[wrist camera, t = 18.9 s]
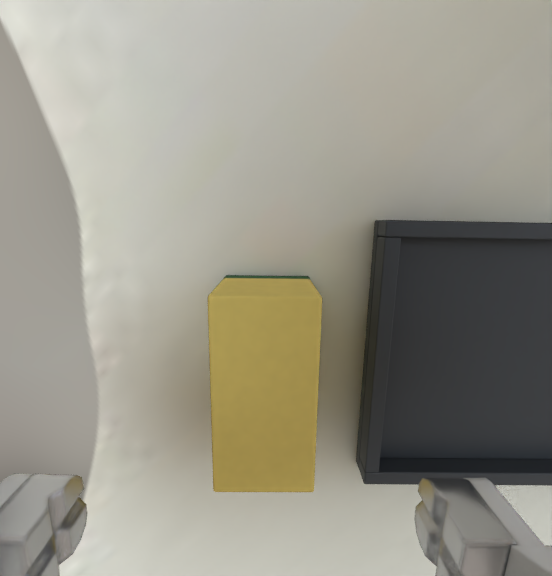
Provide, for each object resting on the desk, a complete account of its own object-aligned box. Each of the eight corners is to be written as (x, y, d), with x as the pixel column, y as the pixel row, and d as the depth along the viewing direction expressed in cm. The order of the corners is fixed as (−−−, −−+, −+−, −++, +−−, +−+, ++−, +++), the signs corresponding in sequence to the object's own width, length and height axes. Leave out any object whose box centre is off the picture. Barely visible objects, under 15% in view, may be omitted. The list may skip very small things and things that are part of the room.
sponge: (225, 275, 17) (207, 295, 12) (308, 276, 17) (322, 296, 12) (228, 423, 19) (213, 492, 14) (303, 423, 19) (314, 492, 14)
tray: (374, 220, 17) (386, 219, 15) (738, 227, 17) (792, 227, 15) (355, 461, 20) (363, 484, 18) (666, 463, 20) (705, 487, 18)
